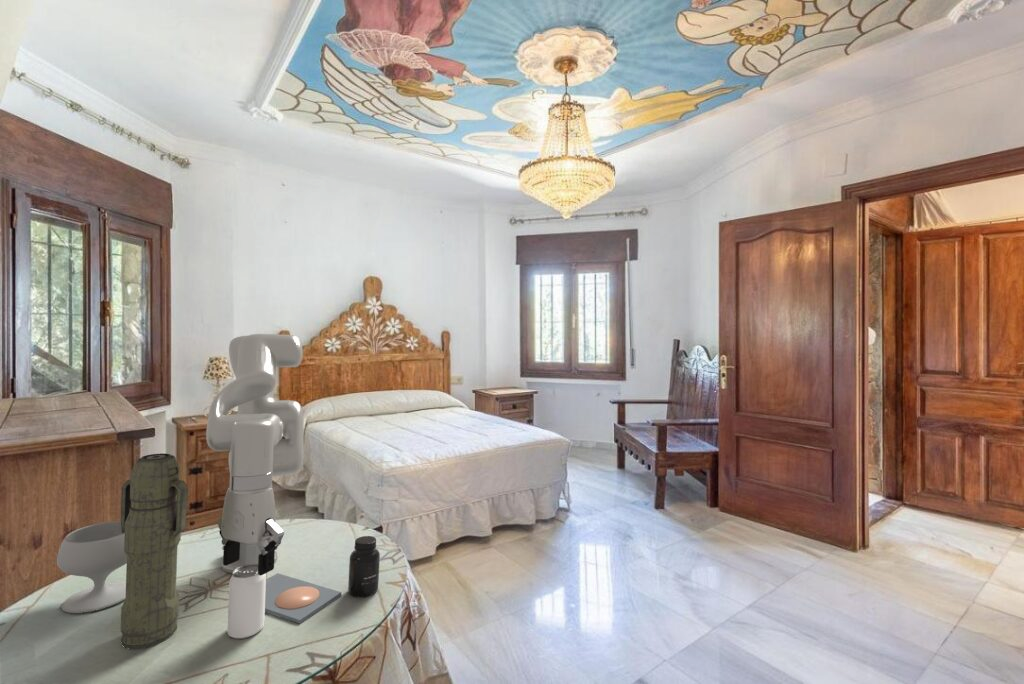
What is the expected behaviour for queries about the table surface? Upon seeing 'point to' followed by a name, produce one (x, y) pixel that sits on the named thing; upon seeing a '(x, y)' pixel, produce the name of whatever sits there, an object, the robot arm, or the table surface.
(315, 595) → the card
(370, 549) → the supplement bottle
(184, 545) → the table surface
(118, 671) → the table surface
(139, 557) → the thermos
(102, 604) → the chalice
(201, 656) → the table surface
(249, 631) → the can
